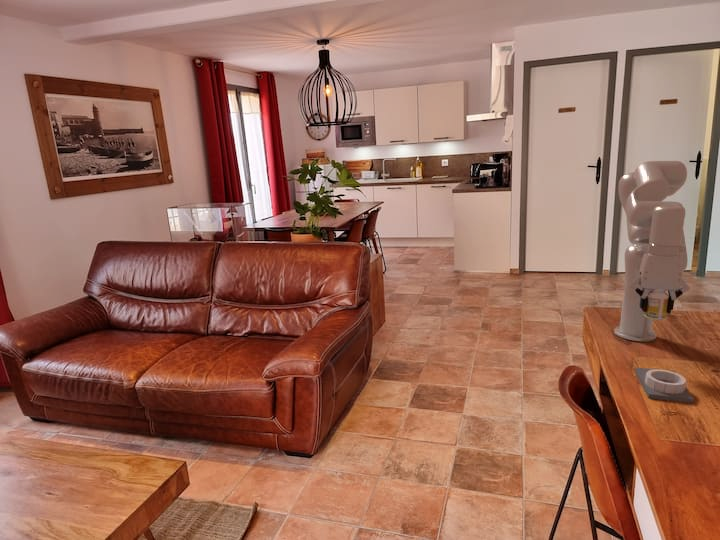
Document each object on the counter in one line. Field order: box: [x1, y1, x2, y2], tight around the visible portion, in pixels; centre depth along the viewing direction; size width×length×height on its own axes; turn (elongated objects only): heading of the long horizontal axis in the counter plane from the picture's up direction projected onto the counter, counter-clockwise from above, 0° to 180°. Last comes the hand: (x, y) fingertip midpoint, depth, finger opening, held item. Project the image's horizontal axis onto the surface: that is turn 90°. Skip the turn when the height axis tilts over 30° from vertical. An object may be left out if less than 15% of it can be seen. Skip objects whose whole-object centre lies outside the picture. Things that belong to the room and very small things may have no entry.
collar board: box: [634, 367, 695, 404], centre depth 130 cm, size 16×10×4 cm, turn 162°
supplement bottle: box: [644, 289, 669, 321], centre depth 139 cm, size 5×5×10 cm
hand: (655, 310), depth 140 cm, fingers closed on supplement bottle, 5 cm apart
